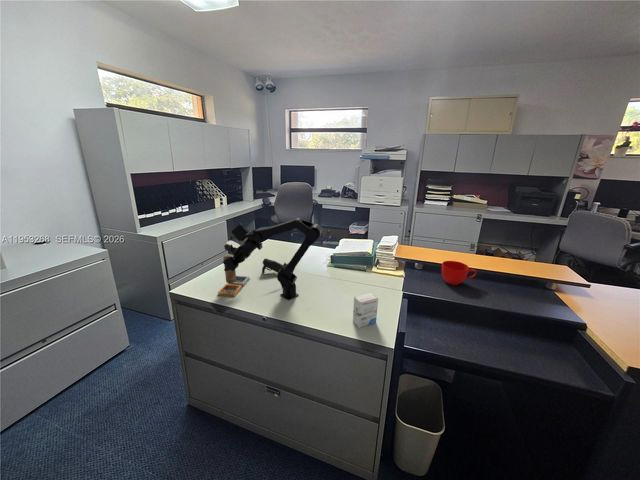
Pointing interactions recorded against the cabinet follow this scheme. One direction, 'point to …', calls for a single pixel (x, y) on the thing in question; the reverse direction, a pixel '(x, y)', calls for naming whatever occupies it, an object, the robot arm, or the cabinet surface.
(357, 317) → the ink box
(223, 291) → the tray
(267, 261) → the gun
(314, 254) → the cabinet surface
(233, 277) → the post
